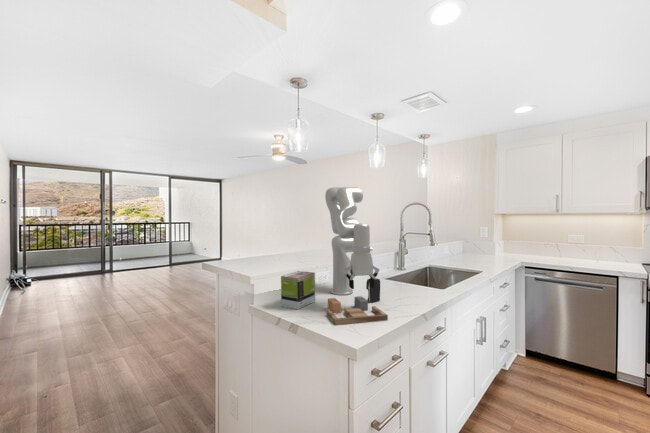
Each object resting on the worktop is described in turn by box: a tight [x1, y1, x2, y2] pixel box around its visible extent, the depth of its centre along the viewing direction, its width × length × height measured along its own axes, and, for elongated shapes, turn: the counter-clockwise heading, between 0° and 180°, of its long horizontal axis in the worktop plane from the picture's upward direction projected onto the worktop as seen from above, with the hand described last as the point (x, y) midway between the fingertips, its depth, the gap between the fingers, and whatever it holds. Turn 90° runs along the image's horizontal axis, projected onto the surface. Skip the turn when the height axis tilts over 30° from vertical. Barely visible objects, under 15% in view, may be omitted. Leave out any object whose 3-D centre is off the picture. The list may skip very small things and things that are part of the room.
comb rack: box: [326, 305, 389, 326], centre depth 126 cm, size 12×22×2 cm, turn 105°
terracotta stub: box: [327, 297, 342, 314], centre depth 135 cm, size 8×4×4 cm, turn 16°
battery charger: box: [365, 277, 381, 303], centre depth 150 cm, size 7×4×11 cm, turn 125°
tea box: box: [280, 270, 316, 310], centre depth 144 cm, size 15×10×15 cm
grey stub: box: [354, 295, 369, 312], centre depth 139 cm, size 8×4×4 cm, turn 14°
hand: (361, 287), depth 138 cm, fingers open, 9 cm apart
